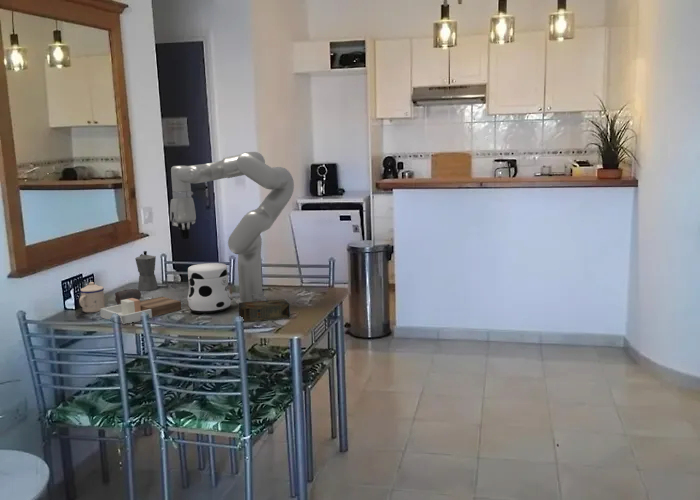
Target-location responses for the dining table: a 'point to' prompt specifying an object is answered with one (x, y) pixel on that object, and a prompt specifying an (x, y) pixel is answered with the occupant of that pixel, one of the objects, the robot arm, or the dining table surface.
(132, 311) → the cream tile
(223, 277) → the milk container
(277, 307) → the beverage carton
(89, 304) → the teacup with lid
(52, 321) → the dining table surface
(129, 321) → the tray
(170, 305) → the brown square slab
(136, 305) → the terracotta tile
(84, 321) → the dining table surface
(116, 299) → the perforated stone tool
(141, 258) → the coffeepot
